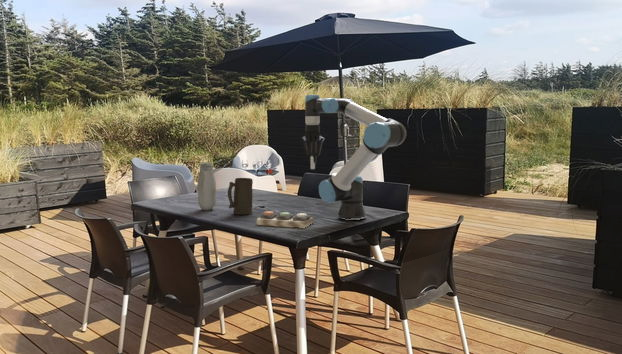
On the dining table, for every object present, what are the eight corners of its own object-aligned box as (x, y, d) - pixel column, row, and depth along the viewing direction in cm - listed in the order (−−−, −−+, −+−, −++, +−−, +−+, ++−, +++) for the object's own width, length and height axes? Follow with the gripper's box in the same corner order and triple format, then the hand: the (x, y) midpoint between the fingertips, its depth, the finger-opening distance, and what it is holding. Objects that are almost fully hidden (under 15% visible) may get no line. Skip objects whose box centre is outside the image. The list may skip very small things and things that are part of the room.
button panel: (313, 223, 262) (313, 214, 261) (304, 228, 250) (304, 219, 250) (266, 220, 270) (266, 211, 270) (256, 224, 259) (256, 216, 259)
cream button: (308, 217, 258) (308, 213, 258) (304, 219, 254) (304, 215, 254) (298, 216, 260) (298, 213, 260) (295, 218, 255) (295, 214, 255)
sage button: (291, 216, 262) (291, 212, 261) (287, 218, 257) (287, 214, 257) (282, 215, 263) (282, 212, 263) (278, 217, 259) (278, 213, 258)
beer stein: (244, 211, 297) (243, 176, 295) (257, 213, 290) (256, 178, 288) (223, 215, 285) (222, 179, 283) (237, 217, 278) (236, 180, 276)
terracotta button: (275, 215, 265) (275, 211, 264) (271, 217, 260) (271, 213, 260) (266, 214, 266) (266, 211, 266) (262, 216, 262) (262, 212, 261)
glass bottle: (212, 211, 296) (210, 163, 293) (195, 211, 298) (194, 163, 295) (218, 208, 306) (217, 161, 302) (202, 208, 308) (201, 161, 304)
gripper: (326, 124, 272) (326, 168, 275) (303, 124, 276) (303, 167, 279) (322, 124, 265) (322, 170, 268) (298, 124, 269) (298, 169, 272)
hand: (312, 168), depth 273 cm, fingers closed
